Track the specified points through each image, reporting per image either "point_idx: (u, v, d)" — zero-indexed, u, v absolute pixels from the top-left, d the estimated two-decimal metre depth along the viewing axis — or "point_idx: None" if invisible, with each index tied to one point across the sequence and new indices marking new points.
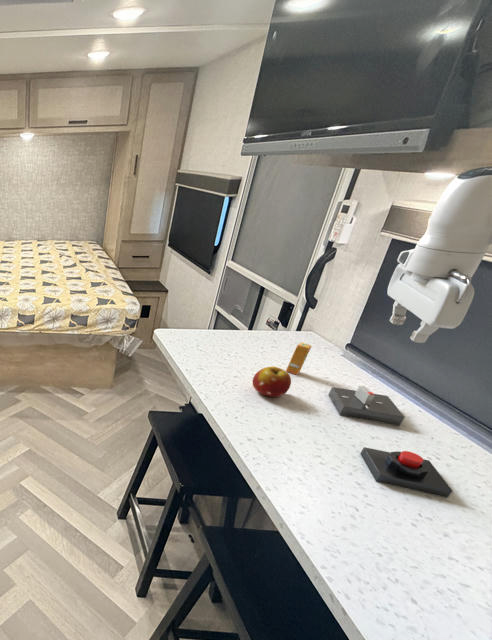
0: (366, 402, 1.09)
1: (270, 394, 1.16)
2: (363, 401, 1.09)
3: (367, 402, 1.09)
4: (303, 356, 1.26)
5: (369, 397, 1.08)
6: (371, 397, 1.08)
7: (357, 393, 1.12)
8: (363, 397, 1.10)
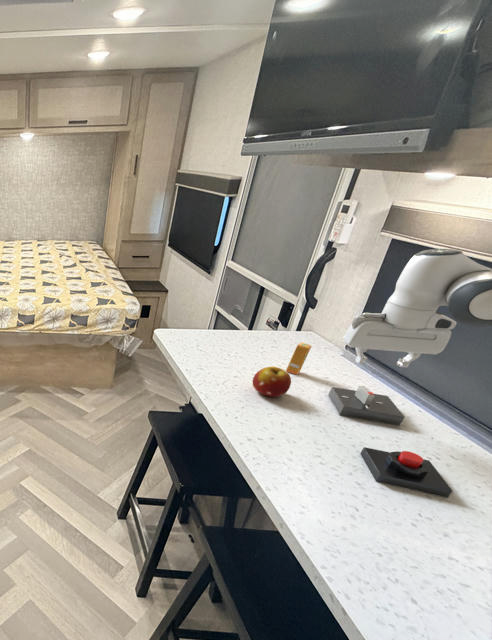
0: (366, 402, 1.09)
1: (270, 394, 1.16)
2: (363, 401, 1.09)
3: (367, 402, 1.09)
4: (303, 356, 1.26)
5: (369, 397, 1.08)
6: (371, 397, 1.08)
7: (357, 393, 1.12)
8: (363, 397, 1.10)
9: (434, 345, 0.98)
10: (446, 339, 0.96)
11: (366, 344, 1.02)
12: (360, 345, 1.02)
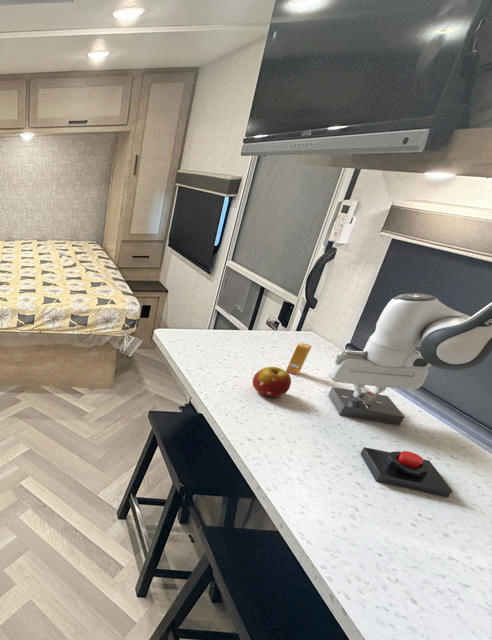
0: (366, 402, 1.09)
1: (270, 394, 1.16)
2: (363, 401, 1.09)
3: (367, 402, 1.09)
4: (303, 356, 1.26)
5: (369, 397, 1.08)
6: (371, 397, 1.08)
7: None
8: (363, 397, 1.10)
9: (413, 382, 1.04)
10: (424, 376, 1.02)
11: (349, 379, 1.08)
12: (343, 380, 1.08)
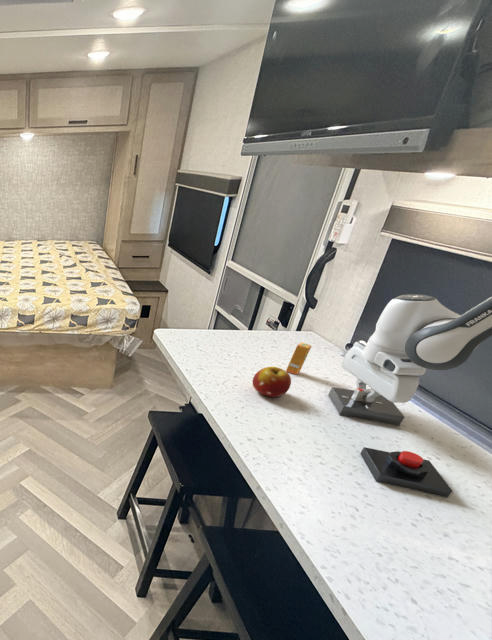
0: (352, 396, 1.11)
1: (270, 394, 1.16)
2: None
3: (353, 397, 1.11)
4: (303, 356, 1.26)
5: (355, 392, 1.10)
6: (356, 393, 1.10)
7: None
8: None
9: (389, 391, 1.01)
10: (395, 386, 0.99)
11: (349, 368, 1.14)
12: (346, 367, 1.15)
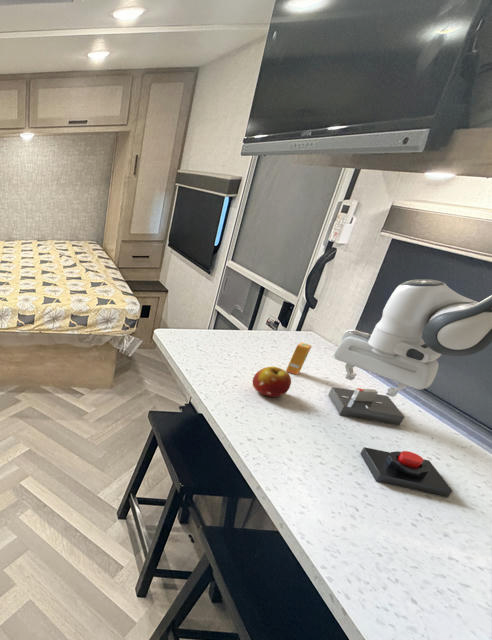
0: (352, 396, 1.11)
1: (270, 394, 1.16)
2: None
3: (353, 397, 1.11)
4: (303, 356, 1.26)
5: (355, 392, 1.10)
6: (356, 393, 1.10)
7: None
8: None
9: (415, 379, 0.98)
10: (424, 374, 0.96)
11: (348, 359, 1.10)
12: (342, 358, 1.11)
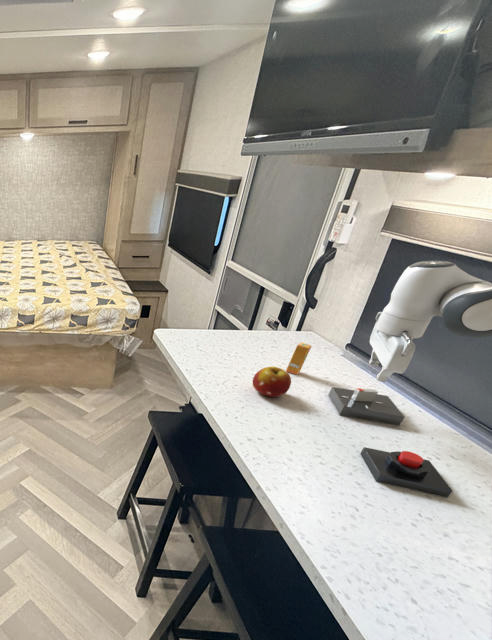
0: (352, 396, 1.11)
1: (270, 394, 1.16)
2: None
3: (353, 397, 1.11)
4: (303, 356, 1.26)
5: (355, 392, 1.10)
6: (356, 393, 1.10)
7: None
8: None
9: None
10: None
11: None
12: None
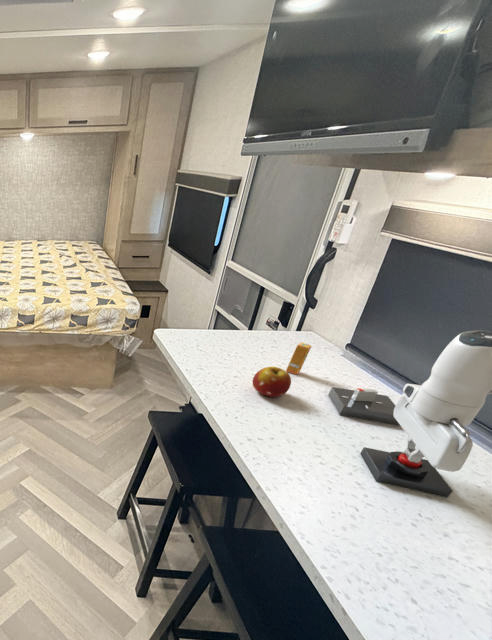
0: (352, 396, 1.11)
1: (270, 394, 1.16)
2: None
3: (353, 397, 1.11)
4: (303, 356, 1.26)
5: (355, 392, 1.10)
6: (356, 393, 1.10)
7: None
8: None
9: None
10: None
11: None
12: None
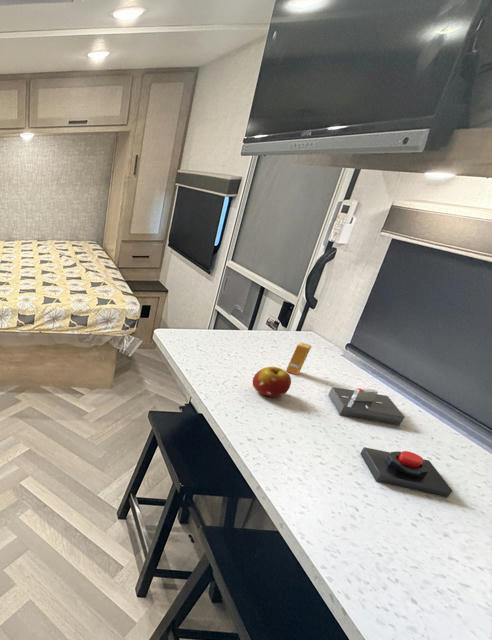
0: (352, 396, 1.11)
1: (270, 394, 1.16)
2: None
3: (353, 397, 1.11)
4: (303, 356, 1.26)
5: (355, 392, 1.10)
6: (356, 393, 1.10)
7: None
8: None
9: None
10: None
11: None
12: None
